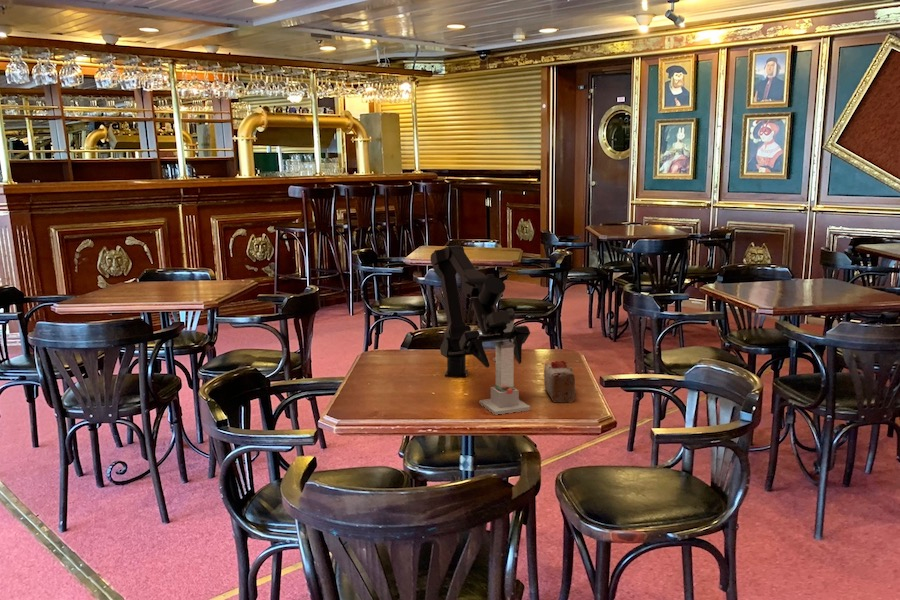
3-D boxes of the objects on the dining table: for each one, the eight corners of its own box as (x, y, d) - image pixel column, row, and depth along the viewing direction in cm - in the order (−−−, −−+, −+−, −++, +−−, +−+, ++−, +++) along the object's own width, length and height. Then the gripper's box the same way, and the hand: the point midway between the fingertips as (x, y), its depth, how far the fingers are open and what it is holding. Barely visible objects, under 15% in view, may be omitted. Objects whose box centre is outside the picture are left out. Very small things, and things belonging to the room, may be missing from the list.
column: (494, 388, 189) (494, 342, 187) (508, 386, 191) (508, 340, 188) (500, 392, 186) (500, 345, 183) (514, 390, 187) (514, 344, 185)
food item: (541, 388, 205) (541, 355, 203) (568, 387, 205) (569, 354, 204) (550, 403, 192) (550, 367, 190) (579, 402, 192) (580, 367, 190)
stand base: (479, 403, 192) (479, 383, 191) (513, 399, 195) (513, 378, 194) (495, 415, 183) (495, 393, 182) (530, 410, 186) (530, 388, 185)
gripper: (462, 301, 186) (480, 352, 177) (527, 295, 192) (547, 345, 184) (452, 325, 194) (468, 375, 186) (514, 319, 201) (532, 367, 193)
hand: (504, 365), depth 187 cm, fingers open, 9 cm apart
